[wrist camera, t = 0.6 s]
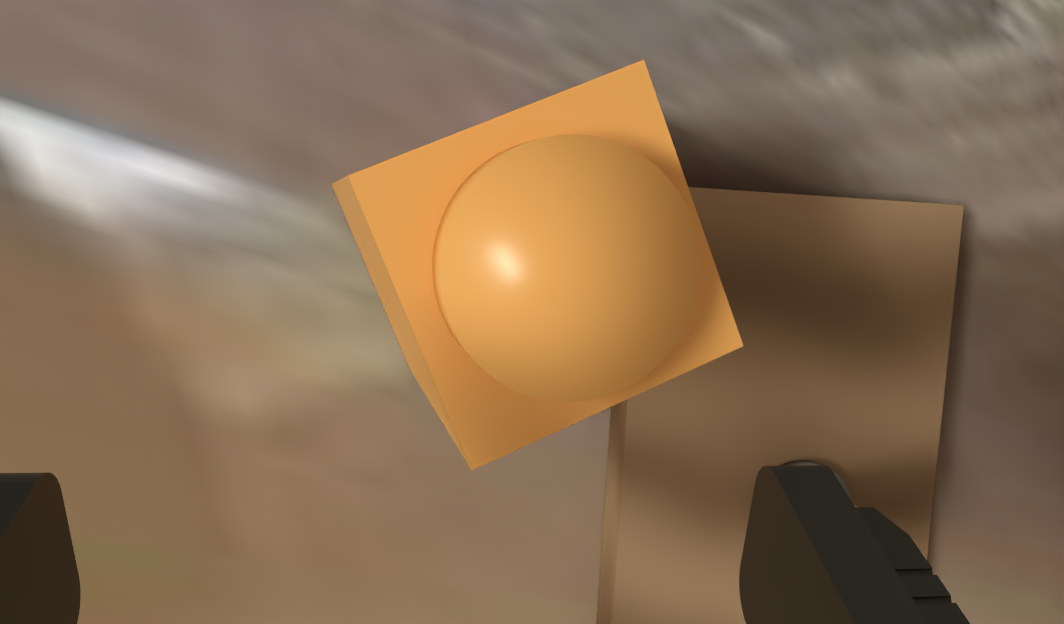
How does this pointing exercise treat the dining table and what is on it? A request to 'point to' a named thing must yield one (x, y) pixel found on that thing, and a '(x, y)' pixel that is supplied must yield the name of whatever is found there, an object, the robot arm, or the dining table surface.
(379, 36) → the dining table surface
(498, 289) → the orange toy brick
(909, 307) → the board
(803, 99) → the dining table surface
